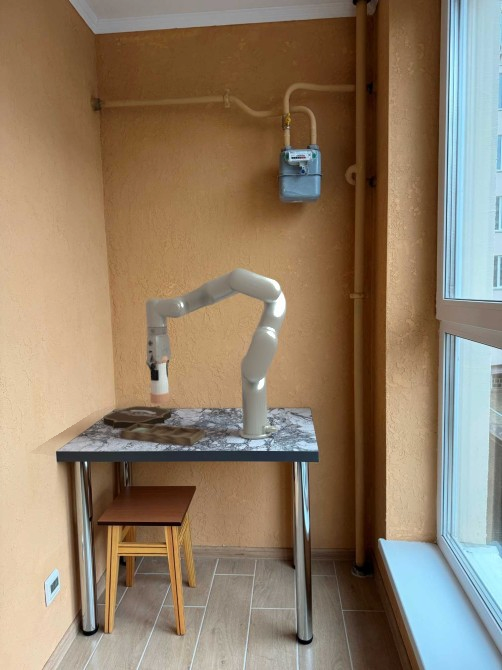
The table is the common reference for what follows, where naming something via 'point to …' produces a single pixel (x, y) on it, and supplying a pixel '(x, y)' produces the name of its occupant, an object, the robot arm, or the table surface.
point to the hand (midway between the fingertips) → (159, 378)
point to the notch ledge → (163, 434)
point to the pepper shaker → (160, 384)
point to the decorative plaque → (137, 416)
